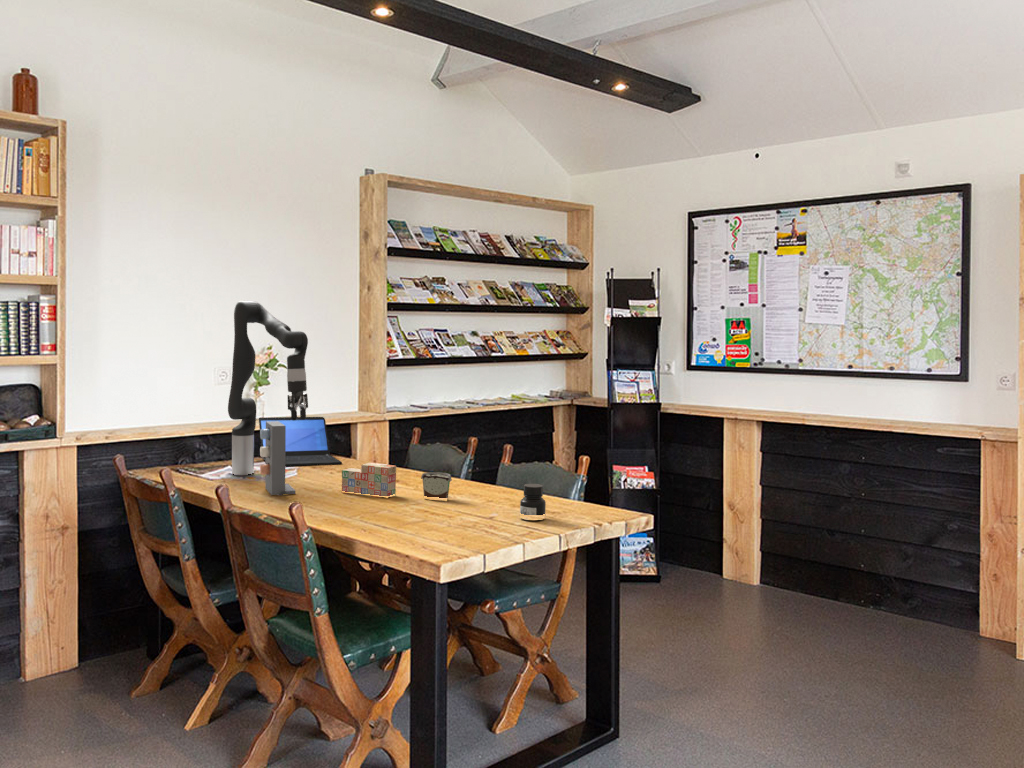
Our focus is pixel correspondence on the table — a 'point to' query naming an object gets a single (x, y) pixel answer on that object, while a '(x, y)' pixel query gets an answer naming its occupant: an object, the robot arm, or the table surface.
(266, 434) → the slate button
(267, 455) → the cream button
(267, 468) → the terracotta button
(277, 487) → the grey upright post stand
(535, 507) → the ink bottle
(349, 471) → the stack of blocks
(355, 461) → the table surface
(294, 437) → the laptop
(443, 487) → the food container
